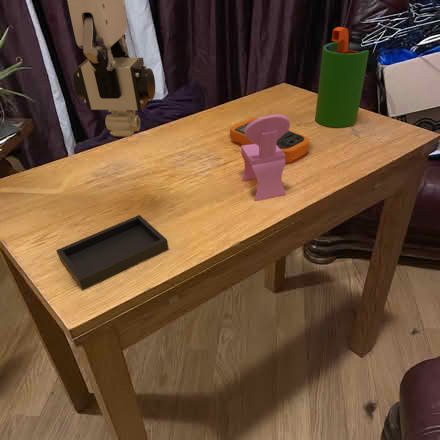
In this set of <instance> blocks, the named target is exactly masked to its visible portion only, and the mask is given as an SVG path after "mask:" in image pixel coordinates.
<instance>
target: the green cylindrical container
mask: <svg viewBox="0 0 440 440" xmlns="http://www.w3.org/2000/svg"><path fill="white" fill-rule="evenodd" d="M348 29H349V28H347V27H342V26H337V27H335V28H334V29H332V36H331V41H332V42H329V43H326V44H324V45H323V46H322V51H321V52H322V53H321V62H320V71H319V79H318V90H317V96H316V97H317V98H316V107H315V117H314V120H315V122H317V124H319V125H322V126H324V127H328V128H347V127H351V126H353V125H355V124H356V123H357V121H358V116H359V115H358V114H359V111H360V110H359V109H360V104H361V98H362V92H363V87H364V82H365V76H366V72H367V71H366V70H367V65H368V64H367V63H368V60H369V55H370V54H369V53H370V50H368V49H365V50H362V51H358V50H351V49H349V39H350V38H349V37H350V36H349V30H348Z"/></svg>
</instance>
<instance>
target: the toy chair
mask: <svg viewBox="0 0 440 440" xmlns="http://www.w3.org/2000/svg"><path fill="white" fill-rule="evenodd" d="M290 127H291V121H290V119H289V118H288V117H287V116H285V115H282V114H269V115H264V116H261V117H259V118H258V119H256V120H254V121H252V122H251V123H249V124H248V125H247V126H246V128H245V135H246V138H247V139H248V140H250V141H251V142H252V143H254V144H250V145H241V146H240V154H241V157H242V159H243V161H244V169H243V174H242V177H241V181H242V182H245V181H250V180H255V179H256V182H257V188H256V193H255V197H254V201H255V202H258V201H262V200H267V199H273V198H277V197H282V196H286V195H287V193H286V190H285V188H284V185H283V179H282V177H283V172H284V169H285V166H286V162H285V154H284V153H283V152H282V151H281V150H280V149H279V147H278V146H277V145H276V143H277V140H278V139H279V138H280V137H281V136H282V135H284V134H285V133H286V132H287V131H288V130H289V131H290Z"/></svg>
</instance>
